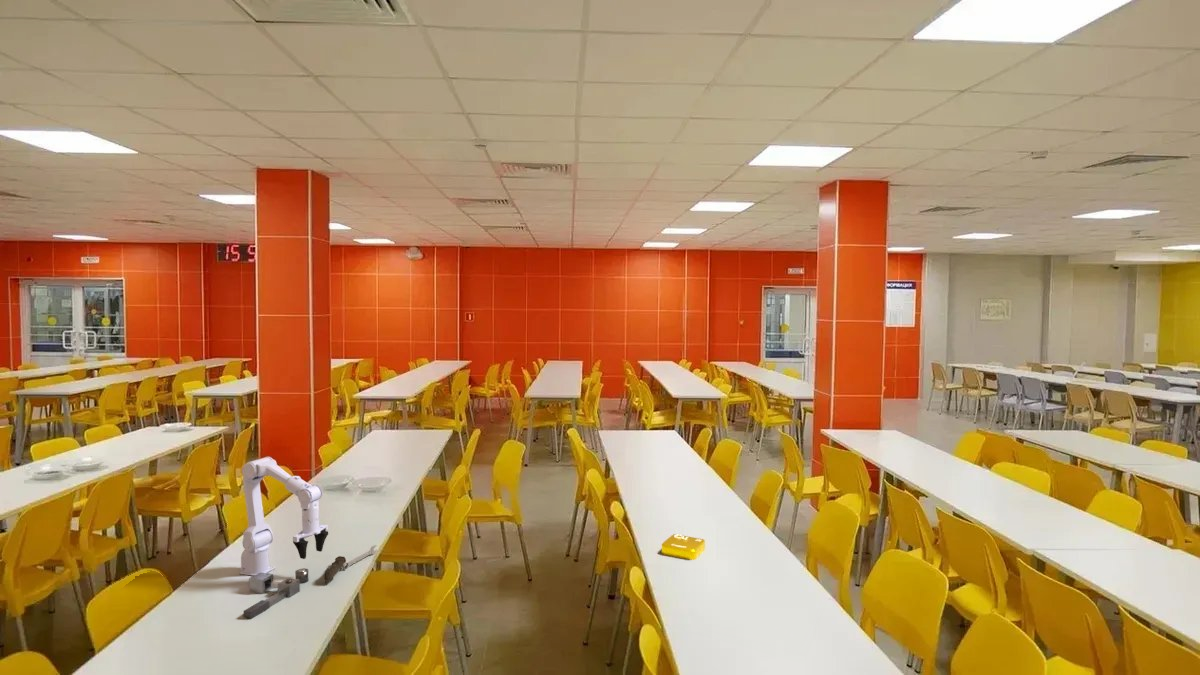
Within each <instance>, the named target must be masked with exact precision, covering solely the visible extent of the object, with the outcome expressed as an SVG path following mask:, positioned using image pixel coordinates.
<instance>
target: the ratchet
mask: <svg viewBox="0 0 1200 675" xmlns="http://www.w3.org/2000/svg"><path fill="white" fill-rule="evenodd" d="M271 588H272V589H277V592H276V593H275V594H273V595H272V596H270V597H268V598H266V599H261V600H260V601H258V602H257V603H255V604H253V605H251V606H250V607H248V608H246V609H244V610H243V619H247V620H248V619H249V620H252V619H254V618H256V617H257V616H259V615H261V614H262V613H265V612H266V611H267V610H269V609H270V608H271V607H273V606H274V605H276V604H278V603H279V602H281V601H283V600H284V599H286V598H292V597H293V596H295V595H296V594H298V593H300V591H301V585H300V579H295V578H291V577H290V578H289V577H287V578H284V579H283V580H282V581H274V580H273V582H272V583H271Z"/></svg>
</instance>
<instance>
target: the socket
mask: <svg viewBox="0 0 1200 675" xmlns="http://www.w3.org/2000/svg"><path fill="white" fill-rule="evenodd" d="M294 579H300V584H303V585H304V584H305V583H308V582H309V569H308V568H299V569H296V570H295V577H294Z"/></svg>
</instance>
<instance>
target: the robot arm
mask: <svg viewBox="0 0 1200 675" xmlns="http://www.w3.org/2000/svg"><path fill="white" fill-rule="evenodd" d="M241 471H242V486H243V491H244V492H243V494H244V500H245V506H246V508H245V509H246V516H247V522H248V525H247V527H246V529H245V530H244V531H243V533H242V535H243V537H242V547H243V549H244V550H243V551H242V553H241V556H240V568H241V570H240V572H239V575H247V576H251V577H253V576H254V575H256V574H258V573H260V572H261V573H269V572H271V571H273V570H274V569H276V567H275V566H270V547H271V544H272V543H273V541H274V537H275V536H274V533H273V531H272V528H271V525H270V524H268V523H267V522H265V515H264V508H263V499H262V491H261V485H260V484H261V481H262V480H263V479H264V478H265V477H266V476H267V477H268V476H269V477H271V478H273V479H275V480H277V481H279V482H280V483H282V484H284V485H285V486H284V487H285V489H286V490H287V491H289V492H290V493H291V494H293V495H294V496H296V497H297V499H298V502H299V503H300V508H301V518H302V519H301V525H302V526H301V529H302V530H301V531H300V532H298V533H297V534H295V535H293V536H292V542H293V545H294V546H295V548H296V549H297V552H298V556H299V558H300V559H302V560H305V559H307V548H308V543H309V541H308V540H305V539H306V538H309V537H311V536H314V540H315V549H316V552H320V553H321V552H323V549H324V545H325V542H326V540H327V536H328V535H329V531H327V530H329V524H327V523H326V524H325V523H323V524H320V508H319V506H320V503H319V501H320V499H321V498H322V496H323V490H322V488H321V487H320V486H319V485H318V484H310V483H309V482H307V481H305V480H304V479H302V478H301V476H300V475H293V476H292V475H291V474H290V473H288V472H286V471H285V469H283V468H282V467H280V466H279V465H278V463H277V461H276V459H273V458H272V457H271V456H265V457H261V458H260V459H259V458H258V459H255V460H252V461H247V462H246V463H244V464H243V466H242V467H241Z"/></svg>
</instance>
